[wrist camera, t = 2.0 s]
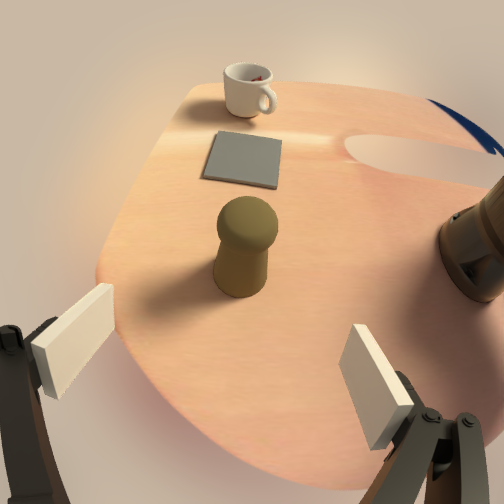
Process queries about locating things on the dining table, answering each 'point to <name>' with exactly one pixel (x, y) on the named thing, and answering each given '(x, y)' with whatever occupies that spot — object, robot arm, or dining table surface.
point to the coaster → (244, 159)
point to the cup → (248, 89)
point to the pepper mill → (244, 245)
